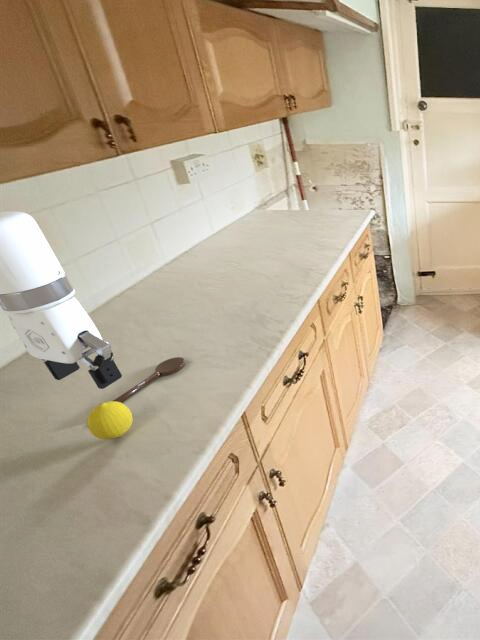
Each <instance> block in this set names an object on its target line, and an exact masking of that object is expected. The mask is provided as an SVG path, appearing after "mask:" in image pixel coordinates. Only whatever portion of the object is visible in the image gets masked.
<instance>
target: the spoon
mask: <svg viewBox="0 0 480 640" xmlns="http://www.w3.org/2000/svg"><path fill="white" fill-rule="evenodd" d="M185 366H186V361H185V358H183V357H182V356H181V357H180V356H176V357H171V358H168V359H165V360H164V361H161V362H160V363H159V364H158V365H156V366H155V369H154V371H155V372H154V373H153V374H151V375H150V376H148V377H147V378H145V379H144V380H142V381H141V382H139V383H138V384H136V385H135V386H133V387H131V388H130V389H129V390H127V391H125V392H123V393H122V394H121V395H119V396H118V397H117V398H115V399H113V400H112V401H116V402H120V403H123V402H125V401H126V400H127V399H129V398H130V397H132V396H133V395H134V394H136V393H138V392H139V391H141V390H142V389H144V388H145V387H147V386H148V385H150V384H151V383H152V382H154V381H155V380H157V379H159V378H160V377H165V376H171V375H174V374H176V373H177V372H179V371H181V370H183V369H184V367H185Z"/></svg>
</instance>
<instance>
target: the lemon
mask: <svg viewBox="0 0 480 640" xmlns="http://www.w3.org/2000/svg"><path fill="white" fill-rule="evenodd" d="M133 420H134V419H133V414H132V411H131V409H130V408H129V407H128V406H127V405H126V404H124V403H123V402H121V403H120V402H116V401H113V400H111V401H105V402H101V403H99V404H98V405H97V406H95V407H93V409H92V410H91V411H90V412H89V414H88V416H87V420H86V421H87V422H86V424H87V428H88V430H89V432H90V433H91V434H92V436H94V437H95V438H98V439H100V440H105V441H106V440H114V439H116V438H121V437H122V436H123V435H125V434H126V433H127V432H128V430H130V428H131V427H132V424H133Z"/></svg>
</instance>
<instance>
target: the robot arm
mask: <svg viewBox="0 0 480 640" xmlns="http://www.w3.org/2000/svg"><path fill="white" fill-rule="evenodd" d="M74 295H76V289H75V288H74V286H73V284H72V282H71V281H70V279H69V277H68V275H67V274H66V272H65V270H64V268H63V267H62V265H61V263H60V261H59V260H58V258H57V256H56V253H54V251H53V249H52V247H51V245H50V243H49V242H48V240H47V238H46V236H45V235H44V233H43V231H42V230H41V228H40V226H39V224H38V223H37V221H36V220H35V218H34V217H33V216H31V215H30V214H29V213H27V212H23V211H18V210H17V211H16V210H15V211H13V210H11V211H8V210H7V211H0V307H1V309H2V310H3V312H4V313H5V314H7V317H8V319H9V321H10V324H11V326H12V327H13V329H14V331H15V333H16V335H17V336H18V337H19V340H20V341H21V343H22V345H23V347H24V348H25V350H26V352H27V353H28V354H29V355H30V356H32V357H33V358H35V359H40V360H41V361H43V363H44V365H45V367H46V368H47V370H48V371H49V372H50V374H51V375H52V377H53V378H54V379H55V380H56V381H61V380H62V379H64V378H66V377H68V376H70V375H72V374H74V373H75V372H77V371H78V370H79V369H80V365H79V364H78V360H79V361H81V362H82V364H84V365H85V366H86V367H88V368H89V369H88V370H87V372H88V373H89V375H90V377H91V378H92V380H93V382H94V383H95V385H96V386H97V388H98V389H101V390H105V388H107V387H109V386H110V385H112V384H113V383H115V382H117V381H118V380H120V379H121V378H122V377H123V374H122V373H121V371H120V369H119V367H118V365H117V364H116V362H115V357H114V352H112V351H113V350H112V345H111V344H110V343H109V342H107V341H105V340H104V339H103V337H102V335H101V333H100V331H99V329H98V328H97V327H96V324H95V323H94V321H93V320H92V318H91V317H90V316H89V314H88V312H87V311H86V310H85V308H84V307H83V306H82V304H81V303H80V302H79V301H78V299H77V298H76V297H75V296H74ZM88 348H90V349H88ZM86 349H88V350H86ZM84 350H86V351H84ZM93 354H96V355H95V356H94V358H93V359H91V358H90V357H89V356H91V355H93Z"/></svg>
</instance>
